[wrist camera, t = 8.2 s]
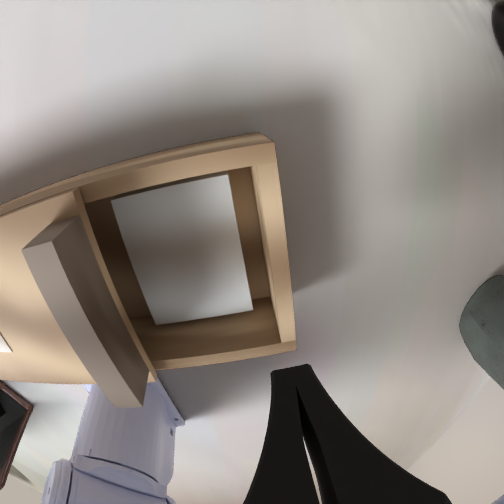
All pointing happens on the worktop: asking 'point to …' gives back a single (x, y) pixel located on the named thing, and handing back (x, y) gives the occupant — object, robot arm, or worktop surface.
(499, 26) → the supplement bottle
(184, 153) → the box
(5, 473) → the letter holder
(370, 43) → the worktop surface
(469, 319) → the vodka
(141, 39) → the worktop surface
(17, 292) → the mailer lid
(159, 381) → the robot arm
